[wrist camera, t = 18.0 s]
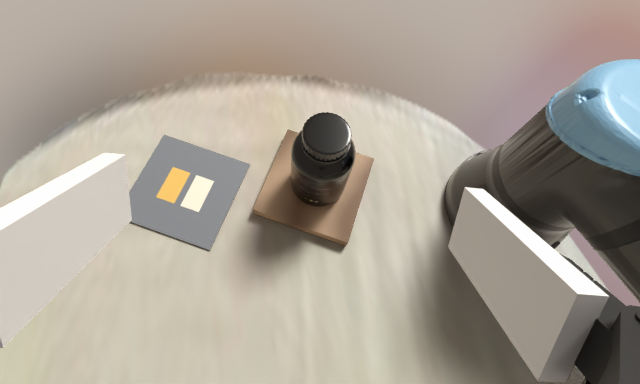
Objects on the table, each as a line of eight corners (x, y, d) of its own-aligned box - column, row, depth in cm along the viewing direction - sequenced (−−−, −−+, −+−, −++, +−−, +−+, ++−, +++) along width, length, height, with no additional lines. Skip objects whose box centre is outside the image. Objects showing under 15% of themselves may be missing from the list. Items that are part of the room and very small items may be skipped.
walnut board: (371, 163, 49) (373, 158, 48) (345, 245, 44) (347, 242, 43) (287, 135, 50) (287, 129, 48) (253, 213, 45) (252, 209, 44)
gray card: (249, 164, 47) (249, 164, 47) (209, 250, 43) (209, 250, 43) (164, 135, 48) (164, 134, 48) (115, 216, 43) (114, 216, 43)
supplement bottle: (299, 152, 47) (304, 94, 36) (350, 167, 47) (370, 113, 36) (282, 199, 44) (282, 152, 33) (336, 215, 44) (354, 173, 33)
